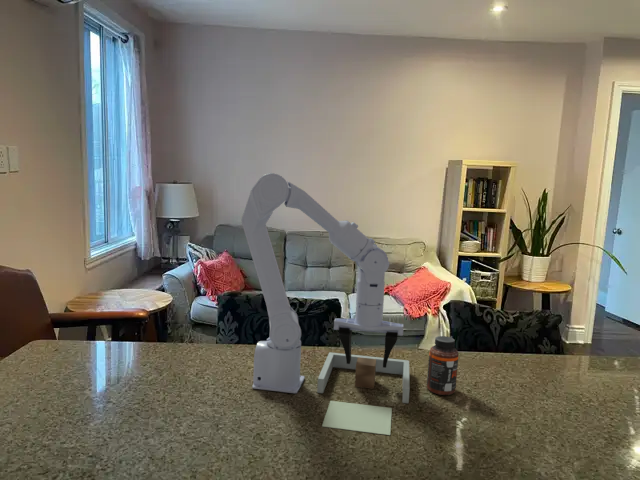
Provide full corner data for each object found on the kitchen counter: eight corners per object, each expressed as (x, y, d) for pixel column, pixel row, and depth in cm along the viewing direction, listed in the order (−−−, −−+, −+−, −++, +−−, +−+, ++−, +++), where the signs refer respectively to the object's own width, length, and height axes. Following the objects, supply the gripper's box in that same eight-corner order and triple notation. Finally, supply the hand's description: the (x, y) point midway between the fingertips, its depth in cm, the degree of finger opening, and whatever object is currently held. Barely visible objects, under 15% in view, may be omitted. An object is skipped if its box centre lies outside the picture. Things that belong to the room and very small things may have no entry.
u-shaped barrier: (317, 392, 99) (317, 378, 99) (328, 364, 114) (329, 352, 114) (408, 403, 96) (409, 389, 96) (408, 373, 111) (409, 360, 111)
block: (354, 386, 103) (356, 364, 102) (356, 379, 107) (357, 357, 106) (373, 388, 102) (375, 366, 102) (374, 381, 106) (376, 359, 106)
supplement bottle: (456, 398, 100) (461, 345, 98) (426, 394, 101) (430, 341, 99) (454, 386, 105) (458, 335, 104) (426, 382, 107) (430, 332, 105)
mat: (321, 426, 86) (321, 426, 86) (330, 401, 96) (330, 400, 96) (390, 435, 84) (390, 434, 84) (391, 408, 94) (391, 408, 94)
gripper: (404, 300, 105) (401, 360, 107) (338, 294, 107) (335, 353, 109) (404, 308, 98) (400, 373, 100) (333, 303, 101) (330, 365, 102)
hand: (366, 364), depth 104 cm, fingers open, 7 cm apart
